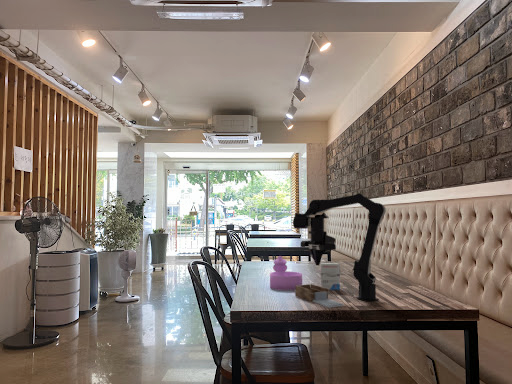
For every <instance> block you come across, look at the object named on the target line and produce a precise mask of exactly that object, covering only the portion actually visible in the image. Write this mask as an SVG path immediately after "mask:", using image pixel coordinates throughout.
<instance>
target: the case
mask: <svg viewBox="0 0 512 384" xmlns="http://www.w3.org/2000/svg"><path fill="white" fill-rule="evenodd" d="M294 291H295V295H294V296H295V297H297V298H300V299H303V300H306V301H308V302H310V303H311V302H312V303H314V302H313V300H315V292H327V299H329V290H328V289H327V288H323V287H321V285H315V284H312V283H309V284H308V283H307V284H302V285H298V286H297V285H295V290H294Z"/></svg>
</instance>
